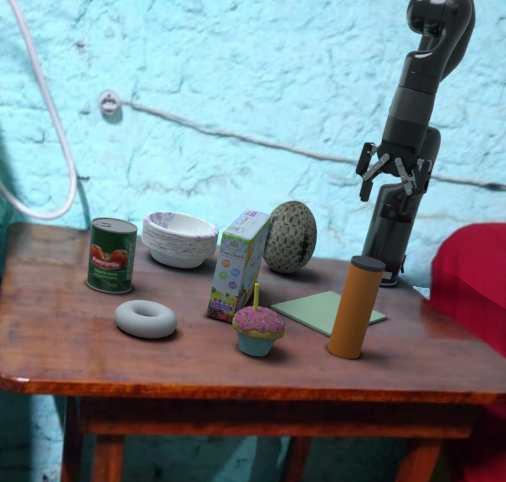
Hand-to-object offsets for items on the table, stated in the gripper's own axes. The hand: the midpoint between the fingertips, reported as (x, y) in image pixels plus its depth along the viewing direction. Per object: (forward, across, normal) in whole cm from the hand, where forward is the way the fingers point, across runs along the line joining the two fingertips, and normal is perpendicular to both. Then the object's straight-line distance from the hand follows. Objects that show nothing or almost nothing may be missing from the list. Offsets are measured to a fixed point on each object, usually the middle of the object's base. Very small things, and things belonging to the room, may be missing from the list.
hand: (382, 207), depth 142 cm
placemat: (+20, -1, +11) cm, 22 cm away
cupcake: (+20, -3, +39) cm, 44 cm away
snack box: (+20, +12, +26) cm, 35 cm away
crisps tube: (+20, -12, +25) cm, 34 cm away
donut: (+20, +11, +50) cm, 55 cm away
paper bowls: (+20, +33, +18) cm, 43 cm away
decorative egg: (+19, +19, 0) cm, 27 cm away
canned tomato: (+20, +28, +42) cm, 54 cm away
